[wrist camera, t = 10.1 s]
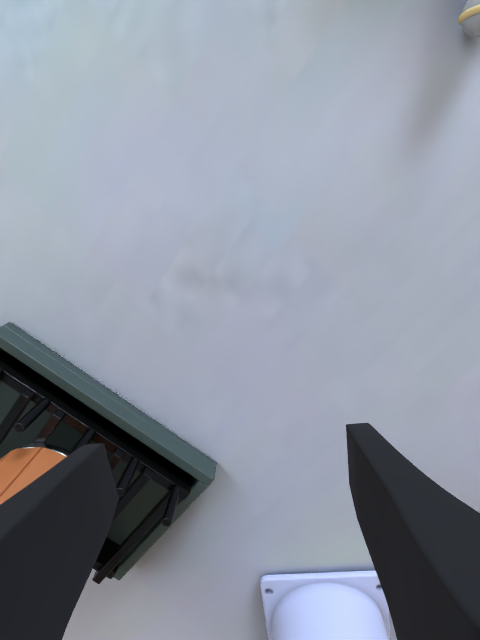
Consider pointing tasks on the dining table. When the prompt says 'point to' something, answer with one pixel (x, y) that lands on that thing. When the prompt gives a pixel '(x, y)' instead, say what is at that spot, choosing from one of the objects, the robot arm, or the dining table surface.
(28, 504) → the robot arm
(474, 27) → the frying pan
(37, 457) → the saucepan
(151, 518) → the dish rack
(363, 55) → the dining table surface
